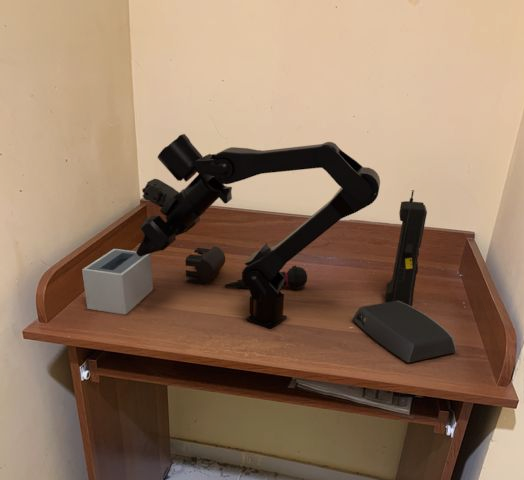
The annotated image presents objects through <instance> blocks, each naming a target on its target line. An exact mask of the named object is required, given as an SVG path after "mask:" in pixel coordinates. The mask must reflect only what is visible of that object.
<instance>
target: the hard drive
mask: <svg viewBox="0 0 524 480" xmlns="http://www.w3.org/2000/svg"><path fill="white" fill-rule="evenodd" d="M352 321H353V322H354V323H355V324H357V326H358V327H359V328H360V329H362V330H363V331H364V332H365V333H366V334H367V335H368V336H370V337H371V338H372V339H373V340H374V341H376V342H377V343H379V344H380V345H381V346H383V347H384V348H385V349H386V350H388V351H389V352H390V353H392V354H393V355H395V356H396V357H398V358H400V359H401V360H403V361H404V362H406V363H414V362H418V361H422V360H427V359H432V358H437V357H440V356H445V355H449V354H454V353H456V352H457V348H456V347H457V346H456V342H455V340H454V337H453V335H452V334H451V333H450V332H449V331H448V330H447V329H446V328H445V327H443V326H442V325H441V324H439V323H438V322H437V321H436V320H435V319H433V318H432V317H430V316H428V315H427V314H425V313H424V312H423V311H420V310H418V309H416V308H415V307H413V306H409V305H407V304H405V303H403V302H400V301H393V302H387V303H385V302H382V303H376V304H370V305H364V306H359V308H358V309H357V310H356V311H355V314H354V315H353V317H352Z"/></svg>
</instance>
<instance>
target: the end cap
mask: <svg viewBox="0 0 524 480" xmlns="http://www.w3.org/2000/svg"><path fill="white" fill-rule="evenodd" d="M193 253H195V254H189V255H187V256H186V258H185V266H186V267H192V268H193V267H194V270H188V269H186V270H185V277H186V278H187V279H186V283H188V284H197V285H206V284H207V283H208V282H210V281H211V280H212V279H213V277H215V276H216V275H217V273H219V271H220V270H221V269H222V268H223V266H225V263H226V254H225V252H224V251H223V250H222V249H221V248H220V247H218V246H215V245H213V246H212V247H211V248H203V247H197V248H195V250H194V251H193ZM196 254H197V255H196Z"/></svg>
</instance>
